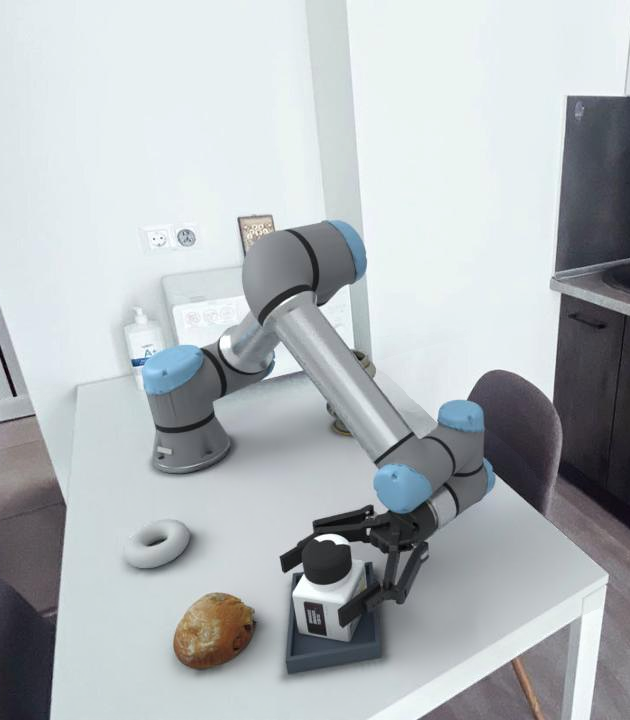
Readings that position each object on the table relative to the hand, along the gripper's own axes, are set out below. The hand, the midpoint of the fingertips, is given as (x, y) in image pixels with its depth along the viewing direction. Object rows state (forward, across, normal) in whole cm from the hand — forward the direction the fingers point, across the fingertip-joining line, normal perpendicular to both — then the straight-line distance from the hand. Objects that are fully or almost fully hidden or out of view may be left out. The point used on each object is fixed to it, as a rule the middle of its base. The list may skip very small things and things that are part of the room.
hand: (309, 590), depth 74 cm
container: (-3, 0, -8) cm, 8 cm away
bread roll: (+10, +9, -8) cm, 16 cm away
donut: (+8, +33, -8) cm, 35 cm away
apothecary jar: (-40, +42, -8) cm, 58 cm away
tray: (-3, 0, -8) cm, 9 cm away
